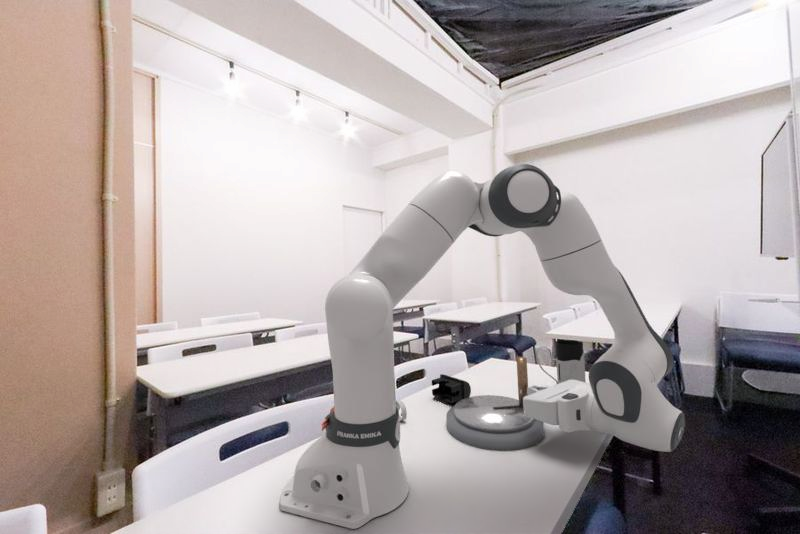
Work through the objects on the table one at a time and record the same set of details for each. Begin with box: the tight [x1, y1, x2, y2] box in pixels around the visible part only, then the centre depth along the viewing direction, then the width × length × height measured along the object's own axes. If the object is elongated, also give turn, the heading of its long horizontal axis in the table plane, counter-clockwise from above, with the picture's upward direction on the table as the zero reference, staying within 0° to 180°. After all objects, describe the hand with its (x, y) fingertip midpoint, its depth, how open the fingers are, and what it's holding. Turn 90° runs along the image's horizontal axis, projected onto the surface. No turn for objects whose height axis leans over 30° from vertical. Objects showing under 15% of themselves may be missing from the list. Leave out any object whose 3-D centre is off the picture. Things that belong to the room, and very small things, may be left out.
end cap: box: [431, 373, 472, 408], centre depth 104 cm, size 10×7×7 cm
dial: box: [454, 356, 534, 433], centre depth 85 cm, size 19×19×14 cm
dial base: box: [446, 406, 545, 451], centre depth 85 cm, size 23×23×3 cm
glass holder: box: [535, 339, 587, 385], centre depth 107 cm, size 9×14×15 cm, turn 75°
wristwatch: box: [396, 399, 408, 422], centre depth 91 cm, size 3×5×5 cm, turn 29°
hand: (530, 389), depth 84 cm, fingers closed
